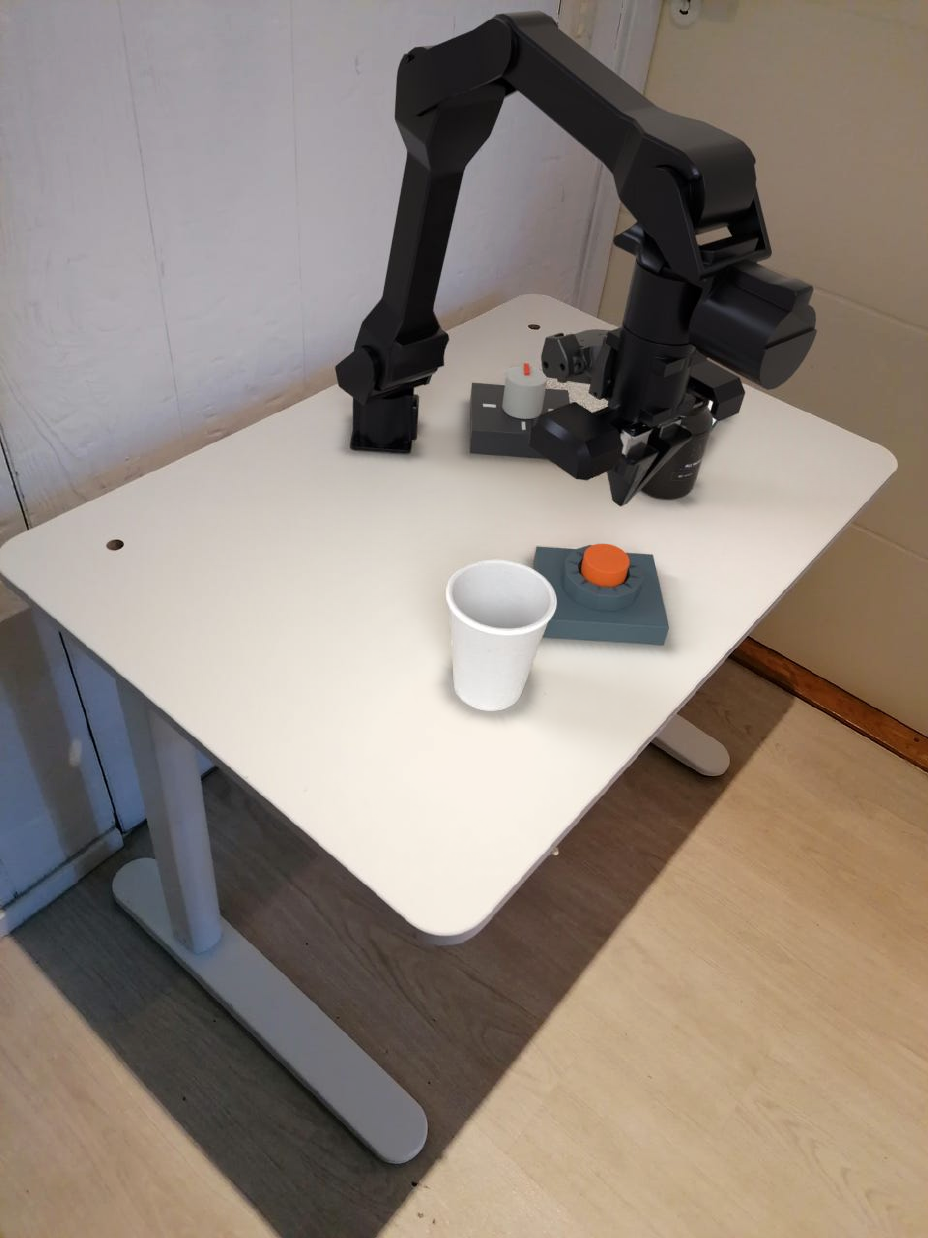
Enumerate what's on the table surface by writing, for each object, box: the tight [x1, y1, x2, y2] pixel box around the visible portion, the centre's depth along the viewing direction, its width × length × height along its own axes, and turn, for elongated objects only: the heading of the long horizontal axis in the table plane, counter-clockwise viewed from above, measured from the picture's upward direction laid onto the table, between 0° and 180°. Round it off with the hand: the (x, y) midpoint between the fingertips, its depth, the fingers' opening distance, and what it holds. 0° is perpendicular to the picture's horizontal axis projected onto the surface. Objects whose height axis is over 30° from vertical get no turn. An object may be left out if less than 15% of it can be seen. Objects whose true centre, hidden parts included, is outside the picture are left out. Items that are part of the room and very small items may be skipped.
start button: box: [581, 543, 630, 587], centre depth 85 cm, size 4×4×2 cm
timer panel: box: [469, 382, 571, 460], centre depth 107 cm, size 11×10×3 cm
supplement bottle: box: [639, 398, 713, 501], centre depth 99 cm, size 7×7×12 cm
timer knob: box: [502, 362, 548, 419], centre depth 105 cm, size 4×4×4 cm
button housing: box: [532, 544, 670, 646], centre depth 87 cm, size 11×10×4 cm
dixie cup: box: [445, 558, 557, 712], centre depth 76 cm, size 8×8×10 cm
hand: (619, 502), depth 80 cm, fingers closed
